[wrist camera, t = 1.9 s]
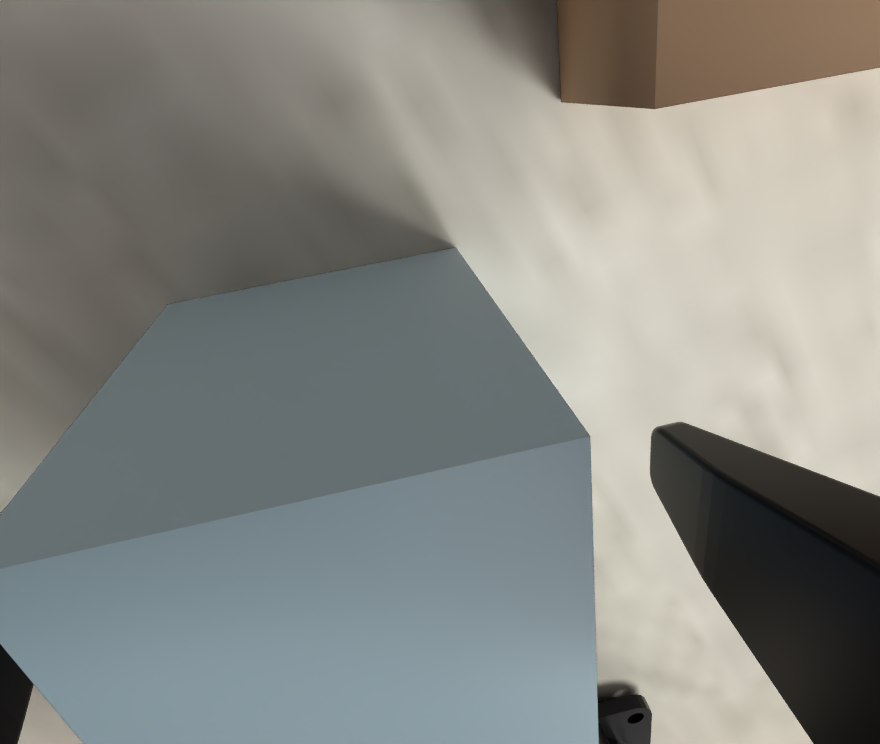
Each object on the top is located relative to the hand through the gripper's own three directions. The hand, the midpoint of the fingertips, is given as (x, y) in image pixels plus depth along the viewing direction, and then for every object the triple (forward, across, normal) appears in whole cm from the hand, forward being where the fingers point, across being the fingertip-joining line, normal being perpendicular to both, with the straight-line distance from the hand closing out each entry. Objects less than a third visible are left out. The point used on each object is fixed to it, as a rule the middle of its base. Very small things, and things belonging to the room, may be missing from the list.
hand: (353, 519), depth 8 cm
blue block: (+3, 0, 0) cm, 3 cm away
